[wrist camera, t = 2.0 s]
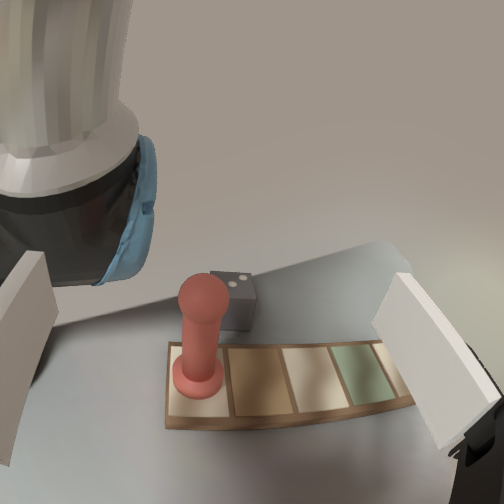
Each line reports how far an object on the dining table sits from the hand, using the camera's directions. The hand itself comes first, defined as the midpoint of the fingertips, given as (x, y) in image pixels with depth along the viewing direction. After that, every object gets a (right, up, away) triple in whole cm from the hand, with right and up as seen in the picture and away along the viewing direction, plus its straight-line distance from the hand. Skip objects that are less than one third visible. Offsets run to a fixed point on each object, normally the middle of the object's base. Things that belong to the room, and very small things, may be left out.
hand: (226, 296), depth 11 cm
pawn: (-4, -11, +17) cm, 21 cm away
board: (+7, -13, +20) cm, 25 cm away
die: (-2, -7, +28) cm, 29 cm away
